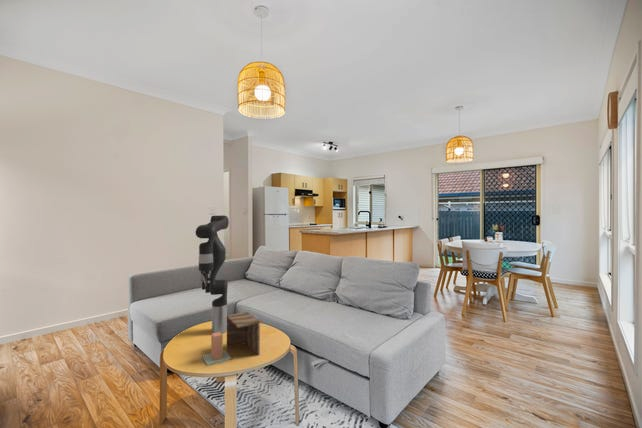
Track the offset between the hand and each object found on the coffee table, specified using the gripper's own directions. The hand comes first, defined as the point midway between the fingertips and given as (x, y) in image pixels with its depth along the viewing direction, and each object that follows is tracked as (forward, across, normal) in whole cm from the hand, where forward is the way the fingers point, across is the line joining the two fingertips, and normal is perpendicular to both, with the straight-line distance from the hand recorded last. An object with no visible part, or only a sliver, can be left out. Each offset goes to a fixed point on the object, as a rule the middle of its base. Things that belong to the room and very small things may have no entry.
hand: (205, 291), depth 161 cm
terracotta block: (+32, -12, -3) cm, 35 cm away
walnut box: (+33, -11, -17) cm, 39 cm away
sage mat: (+33, -12, -3) cm, 35 cm away
